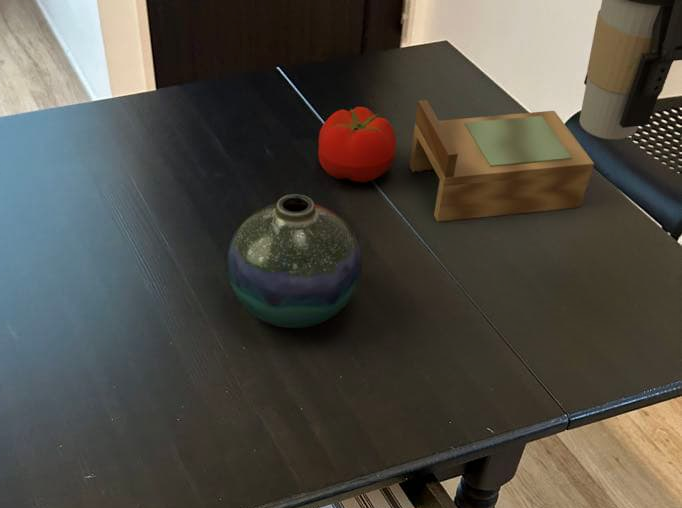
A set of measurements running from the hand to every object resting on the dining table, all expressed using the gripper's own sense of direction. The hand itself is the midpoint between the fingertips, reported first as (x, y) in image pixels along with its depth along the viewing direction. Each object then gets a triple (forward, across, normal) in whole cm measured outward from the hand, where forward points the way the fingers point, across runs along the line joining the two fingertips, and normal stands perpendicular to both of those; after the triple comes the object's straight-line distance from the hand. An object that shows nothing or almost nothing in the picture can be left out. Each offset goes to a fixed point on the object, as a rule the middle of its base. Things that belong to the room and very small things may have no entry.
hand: (614, 103), depth 85 cm
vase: (+21, -1, -33) cm, 40 cm away
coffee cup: (+2, 0, 0) cm, 2 cm away
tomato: (+21, -29, -19) cm, 40 cm away
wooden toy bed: (+21, -21, -1) cm, 30 cm away
